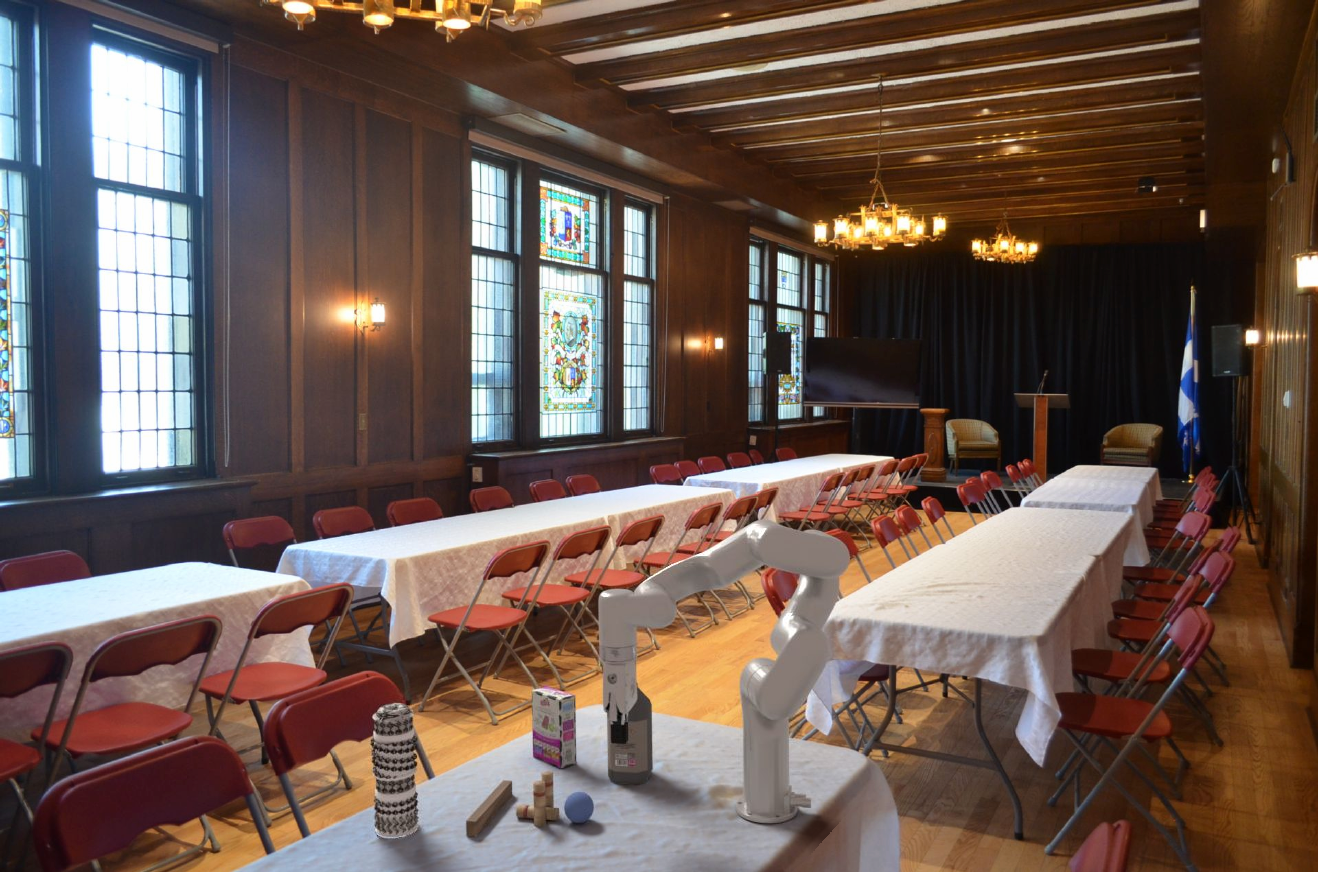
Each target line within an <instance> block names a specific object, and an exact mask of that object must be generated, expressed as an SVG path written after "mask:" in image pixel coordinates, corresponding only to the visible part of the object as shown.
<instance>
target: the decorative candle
mask: <svg viewBox="0 0 1318 872" xmlns="http://www.w3.org/2000/svg"><path fill="white" fill-rule="evenodd" d="M414 715H415V711H414V710H413V709H411V708H410V707H409V706H408V705H407V704H404V703H400V702H393V703H387V704H385V705H382V706H380V707H379V708H378V709H377V712H375V713H374V714H372V719H373V721H374V723H373V725H374V726H373V729H374V730H373V735H372V736H373V737H372V738H370V746H371V748H372V749H371V763H372V764H373V767H372V775H373V777H374V778H375V789H374V795H375V796H374V799H373V802H374V803H375V804H374V807H373V810H374V811H375V812H374V815H373V818H374V820H375V821H374V827H375V830H374V832H375V831H376V832H379V833H378V834H379V835H382V836H386V837H399V836H403V835H408V834H410V833H412V832H414V831H415V830H416V829H417V828H418V829H419V818H420V817H419V816H418V814H419V811H420V810H419V809H418V803H419V800H418V795H419V793H418V792H417V784H416V780H415V779H416V777H415V776H416V775H415V774H416V773H417V770H418V768H417V767H418V762H417V761H416V760H417V758H418V754H417V753H415V751H416V750H417V749H418V747H419V745H418V744H417V743H416V742H417V741H418V736H416V735H415V727H414ZM418 829H417V830H418ZM415 832H416V831H415ZM415 832H414V833H415Z"/></svg>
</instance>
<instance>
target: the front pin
mask: <svg viewBox="0 0 1318 872" xmlns="http://www.w3.org/2000/svg"><path fill="white" fill-rule="evenodd" d="M515 815H516V818H521V819H522V818H524V819H533V820H534V805H527V804H525V805H524V804H517V806H516V810H515ZM559 818H560V808H559V807H554V808H552V807H546V821H547V820H548V821H558V820H559Z"/></svg>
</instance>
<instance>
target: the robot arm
mask: <svg viewBox="0 0 1318 872" xmlns="http://www.w3.org/2000/svg"><path fill="white" fill-rule="evenodd" d="M850 561H851V555H850V551H849V549H848V546H847V545H846V544H845V543H844V542H843V541H842V540H840V539H839V538H838V537H834V536H832V535H830V534H828V533H826V532H824V531H821V530H818V529H806V530H803V531H802V530H798V529H794V528H791V527H787V526H784V525H782V524H780V523H778V522H775V521H773V520H770V519H765V518H763V519H758V520H755V521H753V522H751V523H749V524H748V525H746V526H745V527H742V528H741V529H739V530H738V531H736V532H735V533H733V534H731V535H730V536H728V537H726V538H724V539H723V540H722V541H720V542H718V543H716V544H714V545H713V546H711V547H709V548H708V549H706V550H704V551H702V552H701V553H698V554H695V555H692V556H690V557H688V558H685V559H683V560H680V561H678V562H675V563H673V564H671V565H669V566H667V567H665V568H663V569H662V570H660V571H658V572H657V573H655V574H653V575H652V576H650V577H649V578H647V579H645V580H644V581H643V582H641V583H640V584H639V585H638V586H637V587H636V588H635V589H634V591H632V590H630V589H626V588H611V589H607V590H604V591H602V592H601V593H600V594H599V596H598V640H599V641H598V645H599V646H598V648H599V649H598V650H599V654H598V655H599V657H598V659H599V661H600V662H601V663H603V669H602V670H603V671H602V707H603V711H604V713H606V714H607V713H608V712H609V710H610V715H609V721H610V723H611V743H615V744H626V743H627V741H628V722H625V721H628V712H629V711H630V710H631V708H632V707H633V705H634V704H635V703H636V701H637V683H638V680H637V665H636V666H635V661H636V662H637V660H638V636H637V635H638V629H637V628H645V629H656V630H657V629H664V628H667V627H668V626H670V625H671V624H672V623H674V621H675V619H676V617H677V614H678V605H677V602H679V601H680V600H683V599H684V598H686V597H688V596H691V595H693V594H696V593H700V592H703V591H718V590H723V589H726V588H728V587H729V586H732V585H733V584H735V583H736V582H738V581H740V580H741V579H743V578H744V577H746V576H748V575H749V574H751V573H753V572H755V570H756V571H757V569H759V568H761V567H763V566H764V565H765V566H767V567H769V568H772V569H775V570H776V569H777V570H780V571H782V572H783V571H784V572H788V573H792V574H797V575H799V576H798V577H799V579H798V583H797V587H795V591H794V593H793V594H792V597H791V599H790V600H789V602H788V603H787V604H786V607H785V609H784V610H783V612H782V613H781V615H780V617H778V620H777V622H776V623H775V625H774V627H773V628H772V629H771V633H770V636H769V637H770V638H769V641H770V646H771V648H772V650H773V651H774V652H775V654H776V655H777V657H776V659H775V660H773V659H771V658H768V657H757V658H754V659H752V660H750V661H749V662H748V663H747V664H746V665H744V667H743V669H742V671H741V672H740V677H739V695H740V704H741V713H742V715H741V717H742V777H743V778H742V780H743V781H742V785H743V787H742V789H743V791H742V792H743V795H742V796H741V797H740V798H739V799H738V800H737V801H735V802H736V804H735V811H736V812H737V814H738V815H739V816H740V817H741V818H742V819H745V820H747V821H751V822H754V823H761V824H777V823H784V822H787V821H790V820H791V819H793V818H794V817H795V816H796V815H797V813H798V807H799V808H807V809H812V798H811V797H807V793H795V791H793V785H791V784H790V721H789V719H791V718H793V717H794V716H795V715H796V714H797V713H798V712H799V710H800V709H801V708H802V707H803V705H804V704H805V702H806V700H807V698H808V697H809V695H810V694H811V692H812V690H813V688H814V687H815V685H816V684H817V682H818V680H819V678H820V677H821V675H822V673H823V672H824V670H825V668H826V666H827V664H828V661H829V657H830V653H831V647H830V642H829V639H828V636H827V634H825V632H824V631H823V629H824V627H825V626H826V624H827V621H828V619H829V618H830V615H831V614H832V612H833V610H834V609H835V606H836V604H837V601H838V597H839V594H840V593H839V592H840V577H841V576H842V575H844V574H845V572H846V571H847V569H848V568H849V565H850Z"/></svg>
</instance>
